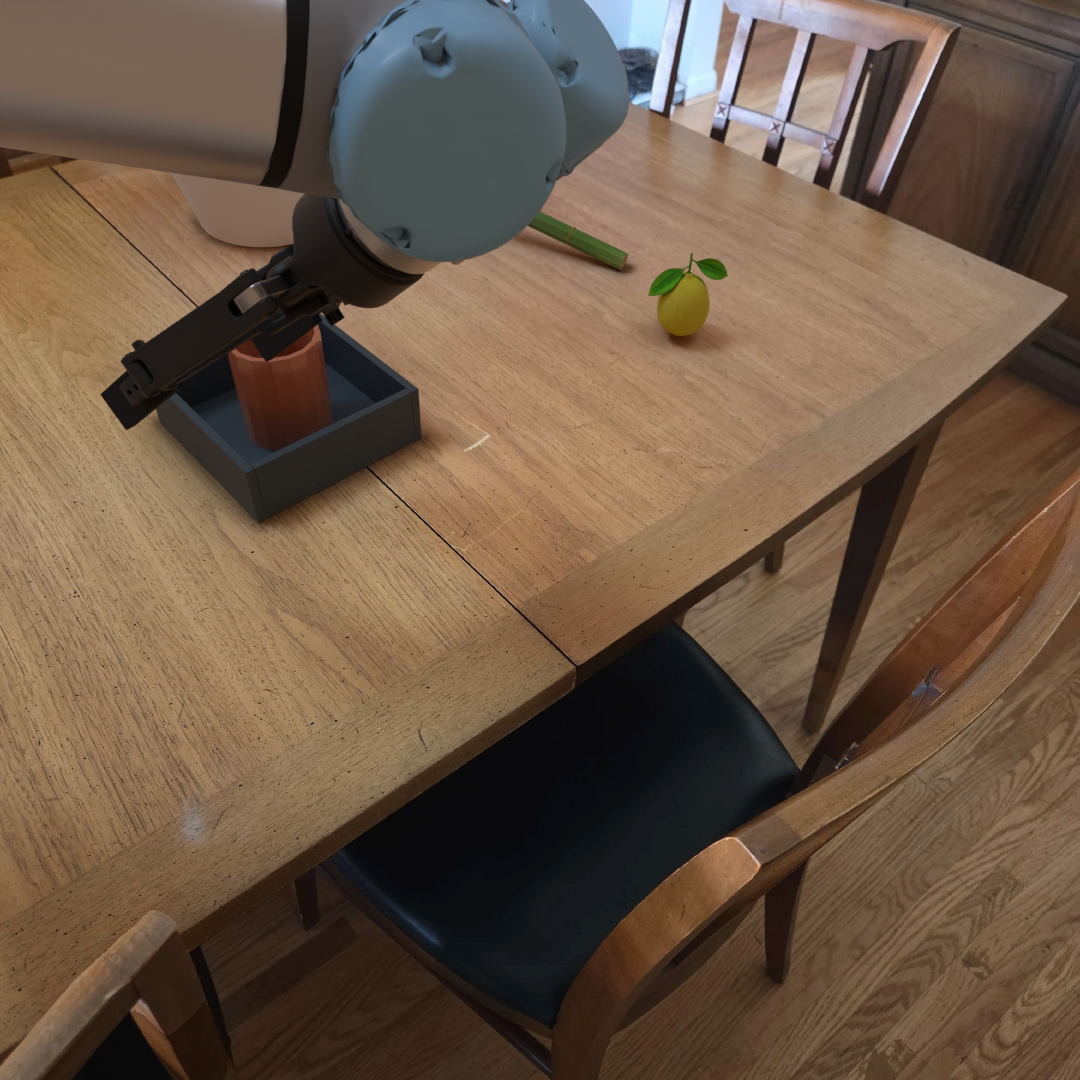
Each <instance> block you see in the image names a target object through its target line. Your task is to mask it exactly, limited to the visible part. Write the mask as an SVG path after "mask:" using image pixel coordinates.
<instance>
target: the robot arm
mask: <svg viewBox="0 0 1080 1080" xmlns="http://www.w3.org/2000/svg"><path fill="white" fill-rule="evenodd" d="M630 100H631V98H630V91H629V78H628V75H627V71H626V68H625V64H624V62H623V59H622V57H621V55H620V52H619V49H618V47H617V46H616V44H615V42H614V40H613V38H612V36H611V34H610V32H609V31H608V30H607V28H606V26H605V25H604V23H603V21H602V20H601V19H600V17H599V15H598V14H597V13H596V12H595V11H594V9H593V8H592V7H591V6H590V5H589V3H588V2H586V0H509V1H508V2H506V1H504V0H0V148H1V149H8V150H9V149H10V150H16V151H22V152H29V153H36V154H43V155H49V156H57V157H63V158H70V159H75V160H83V161H89V162H97V163H102V164H103V163H104V164H110V165H116V166H123V167H130V168H136V169H137V168H138V169H143V170H144V169H145V170H150V171H155V172H156V171H157V172H163V173H164V172H165V173H169V174H171V173H176V174H183V175H190V176H197V177H203V178H210V179H217V180H224V181H230V182H237V183H244V184H250V185H257V186H264V187H271V188H276V189H282V190H287V191H292V192H298V193H304V195H303V196H302V197H301V198H300V199H299V200H298V202H297V204H296V206H295V208H294V212H293V217H292V230H293V240H294V244H290V245H287V246H285V247H284V248H282V249H281V250H279V251H278V252H276V253H274V254H272V256H271V257H270V259H269V262H268V263H267V264H266V265H264V266H262V267H260V268H259V269H257V270H256V268H250V269H245V270H243V271H241V272H240V273H239V275H238V276H237V277H236V278H235V279H233V280H232V281H231V282H230V283H229V284H227V285H226V286H225V287H224V288H222V290H220V291H219V292H217V293H216V294H215V295H213V296H212V297H210V298H208V299H207V300H206V301H204V302H203V303H201V304H200V305H198V306H197V307H196V308H194V309H193V310H191V311H189V312H188V313H187V314H186V315H184V316H182V317H181V318H180V319H178V320H176V321H175V322H174V323H172V324H171V325H170V326H168V327H167V328H165V329H163V330H162V331H161V332H159V333H158V334H156V335H155V336H153V337H152V338H150V339H149V340H148V341H146V342H145V340H143V339H136V340H134V341H133V342H132V343H131V347H132V348H133V351H129V352H128V353H126V354H125V355H124V356H123V357H122V358H121V360H120V363H121V364H122V366H123V368H124V369H125V371H124V372H123V373H122V374H121V375H120V376H119V377H118V378H117V379H116V380H114V381H113V382H112V383H111V384H110V385H109V386H108V387H107V388H105V389H104V390H103V391H102V392H101V393H100V394H99V395H100V396H101V398H102V399H103V401H104V402H105V404H106V405H107V406H108V408H109V409H110V411H111V412H112V414H114V416H115V418H116V419H117V420H118V421H119V423H120V424H121V425H122V427H123V429H124V430H125V431H128V430H130V429H132V428H134V427H136V426H137V425H138V424H139V423H141V422H142V421H143V420H144V419H145V418H147V417H148V416H149V415H150V414H152V413H153V412H154V411H156V409H157V408H158V407H159V406H160V405H161V404H163V403H164V402H165V401H166V400H168V399H169V398H170V397H171V396H172V395H174V394H175V393H176V392H177V391H179V390H180V389H181V388H182V387H184V386H185V385H184V384H183V381H185V380H186V379H188V378H189V377H191V376H193V375H194V374H196V373H197V372H199V371H201V370H202V369H204V368H205V367H207V366H209V365H210V364H212V363H214V362H215V361H217V360H218V359H220V358H222V357H223V356H225V355H226V354H228V353H230V352H231V351H233V350H234V349H236V348H238V347H239V346H241V345H242V344H244V343H246V342H247V341H249V340H250V339H251V341H252V342H253V344H254V345H255V346H256V348H257V349H258V351H259V352H260V354H261V355H262V357H263V358H264V360H265V361H266V362H268V361H270V360H272V359H273V358H275V357H276V356H277V355H279V354H280V353H281V352H282V351H284V350H285V349H286V348H288V347H289V346H290V345H292V344H293V343H294V342H296V341H297V340H298V339H300V338H301V337H302V336H303V335H305V334H306V333H307V332H309V331H310V330H311V329H313V328H314V327H315V326H317V325H318V324H319V323H320V322H322V321H323V320H322V319H321V317H320V316H319V314H322V315H323V316H324V317H325V318H326V319H327V321H328V323H329V324H330V326H332V325H334V324H335V325H336V324H338V323H339V322H341V321H342V320H344V319H345V316H344V313H343V312H342V310H341V309H340V306H341V304H342V303H343V305H344V306H348V305H350V306H353V307H357V308H361V309H376V308H380V307H384V306H385V305H387V304H388V303H390V302H391V301H392V300H394V299H396V298H397V297H398V296H399V295H400V294H402V293H403V292H405V291H407V289H409V288H410V287H412V286H413V285H415V284H416V283H417V282H419V280H421V279H422V278H423V276H424V275H425V273H428V272H430V271H432V270H433V269H434V268H436V267H438V265H440V264H441V263H451V265H453V266H459V265H460V264H462V263H464V261H467V260H471V259H474V258H478V257H481V256H484V255H487V254H488V253H489V254H490V253H491V252H493V251H495V250H497V249H499V248H501V247H502V246H504V245H506V244H508V243H509V242H510V241H512V240H513V239H514V238H516V237H517V236H518V235H520V234H521V233H522V231H524V230H525V229H526V228H527V227H529V226H528V225H529V224H530V223H531V222H532V220H533V219H534V218H535V217H536V216H537V214H538V213H539V212H542V209H543V207H544V206H545V205H546V203H547V201H548V200H549V198H550V196H551V195H552V192H553V190H554V189H555V186H556V182H557V181H559V180H560V179H562V178H563V177H568V176H570V174H572V173H573V172H574V170H575V169H576V167H577V166H579V165H580V164H581V163H583V162H584V161H585V160H586V159H588V157H590V156H591V155H592V154H593V153H595V152H596V151H597V150H598V149H600V148H601V147H602V146H603V145H604V144H605V143H606V142H607V141H608V140H609V139H610V138H611V137H612V136H614V134H616V133H617V132H618V131H619V129H620V128H621V127H622V126H623V124H624V123H625V121H626V118H627V116H628V112H629V108H630V102H631V101H630Z"/></svg>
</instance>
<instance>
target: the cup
mask: <svg viewBox="0 0 1080 1080" xmlns="http://www.w3.org/2000/svg"><path fill="white" fill-rule="evenodd" d="M228 357H229V362H230V366H231V370H232V374H233V378H234V382H235V386H236V390H237V395H238V399H239V403H240V407H241V411H242V415H243V419H244V424H245V428H246V432H247V435H248V437H249V438H250V439H251V440H252V442H254V443H255V444H256V445H258V446H260V447H262V448H264V449H267V450H271V451H278V450H280V449H282V448H284V447H286V446H288V445H290V444H292V443H294V442H296V441H299V440H301V439H303V438H305V437H307V436H309V435H311V434H313V433H315V432H317V431H319V430H321V429H323V428H325V427H327V426H329V425H332V424H333V412H332V405H331V399H330V392H329V385H328V379H327V372H326V366H325V359H324V353H323V346H322V339H321V333H320V329H319V327H318V325H317V326H315V327H314V328H313V329H311V330H310V331H309V332H307V333H306V334H305V335H303V336H302V337H301V338H300V339H298V340H297V341H296V342H294V343H293V344H292V345H290V346H289V347H288V348H286V349H285V350H284V351H282V352H281V353H280V354H279V355H277V356H276V357H275V358H273V359H272V360H270V361H268V362H266V361H265V360H264V358H263V357H262V355H261V354H260V352H259V351H258V349H257V348H256V346H255V345H254V344H253V342H252V341H251V339H250V340H249V341H247V342H246V343H244V344H242V345H241V346H239V347H238V348H236V349H234V350H233V351H231V352H230V353H228Z"/></svg>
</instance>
